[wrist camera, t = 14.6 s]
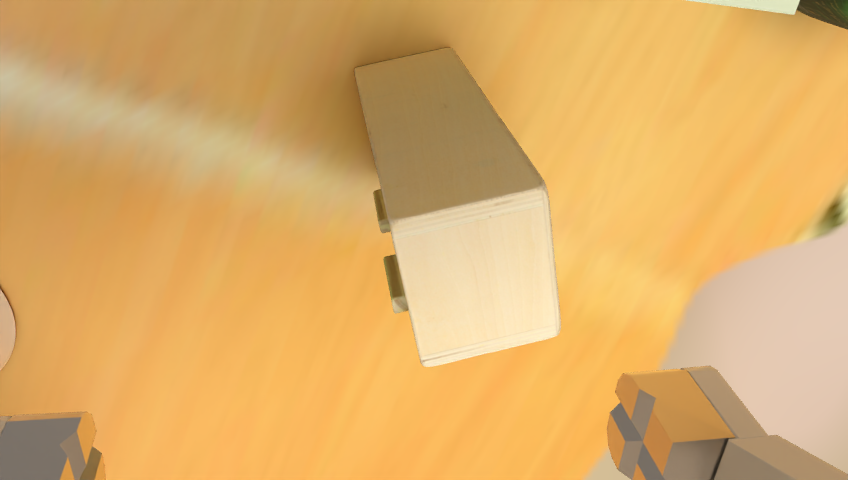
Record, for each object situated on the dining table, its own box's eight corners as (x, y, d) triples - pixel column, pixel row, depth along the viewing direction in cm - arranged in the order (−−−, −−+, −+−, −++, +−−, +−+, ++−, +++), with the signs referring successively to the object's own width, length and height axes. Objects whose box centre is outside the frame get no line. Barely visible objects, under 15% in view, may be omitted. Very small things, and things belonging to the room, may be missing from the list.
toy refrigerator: (339, 66, 46) (372, 226, 28) (451, 42, 46) (554, 185, 28) (365, 176, 50) (408, 377, 32) (468, 153, 50) (566, 339, 33)
